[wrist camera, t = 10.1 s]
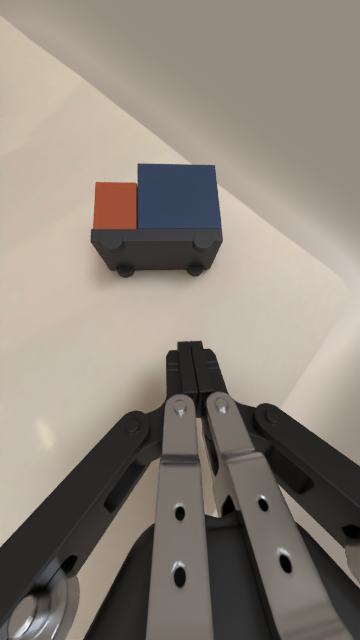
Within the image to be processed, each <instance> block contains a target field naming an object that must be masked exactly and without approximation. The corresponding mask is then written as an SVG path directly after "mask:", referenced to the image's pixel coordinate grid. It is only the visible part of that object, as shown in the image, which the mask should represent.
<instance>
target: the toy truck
mask: <svg viewBox="0 0 360 640" xmlns="http://www.w3.org/2000/svg"><path fill="white" fill-rule="evenodd" d="M222 241H223V238H222V229H221V218H220V209H219V200H218V190H217V182H216V172H215V166H214V165H180V164H138V188H137V184H136V183H112V182H96V186H95V205H94V223H93V229H91V243H92V244H93V246H94V247H95V249H96V250H97V252H98V253H99V255H100V256H101V258H102V259H103V260H104V262H105V263H106V265H107V266H108V268H109V269H110V270H117V272H118V273H119V275H121V276H122V277H129V276H131V275H132V274H133V273H134V270H155V269H187V271H188V272H189V274H191V275H193V276H198V275H200V274H201V273H202V271H203V269H210V267H211V265H212V263H213V261H214V259H215V257H216V254H217V252H218V250H219V248H220V246H221V244H222Z"/></svg>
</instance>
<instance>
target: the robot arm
mask: <svg viewBox="0 0 360 640" xmlns="http://www.w3.org/2000/svg"><path fill="white" fill-rule="evenodd" d="M166 381H167V396H166V400H165V402H164V403H163V404H162V406H161V407H159V408H158V409H156V410H154V411H152V412H149V413H147V414H144V413H143V412H141V411H132V412H129V413H127V414H125V415H124V416H123V417H122V418H121V419H120V420H119V421H118V422H117V423H116V424H115V425H114V426H113V428H112V429H111V430H110V431H109V432H108V433H107V434H106V435H105V436H104V437H103V438H102V439H101V440H100V441H99V443H98V444H97V445H96V446H95V447H94V448H93V449H92V450H91V451H90V452H89V453H88V454H87V455H86V456H85V457H84V459H83V460H82V461H81V462H80V463H79V464H78V465H77V466H76V467H75V468H74V469H73V470H72V471H71V472H70V474H69V475H68V476H67V477H66V478H65V479H64V480H63V481H62V482H61V483H60V484H59V485H58V486H57V487H56V488H55V490H54V491H53V492H52V493H51V494H50V495H49V496H48V497H47V498H46V499H45V500H44V501H43V502H42V503H41V505H40V506H39V507H38V508H37V509H36V510H35V511H34V512H33V513H32V514H31V515H30V516H29V517H28V518H27V520H26V521H25V522H24V523H23V524H22V525H21V526H20V527H19V528H18V529H17V530H16V531H15V532H14V533H13V534H12V536H11V537H10V538H9V539H8V540H7V541H6V542H5V543H4V544H3V545H2V546H1V547H0V640H65V638H66V636H67V634H68V632H69V630H70V628H71V626H72V624H73V621H74V618H75V615H76V612H77V608H78V603H79V594H80V589H79V582H78V578H77V576H76V575H77V573H78V572H79V570H80V569H81V567H82V566H83V564H84V563H85V561H86V560H87V558H88V557H89V555H90V554H91V552H92V551H93V549H94V548H95V546H96V545H97V543H98V542H99V540H100V539H101V537H102V536H103V534H104V533H105V531H106V530H107V528H108V527H109V525H110V524H111V522H112V521H113V519H114V518H115V516H116V515H117V513H118V512H119V510H120V509H121V507H122V506H123V504H124V502H125V501H126V499H127V498H128V496H129V495H130V493H131V492H132V490H133V489H134V487H135V486H136V484H137V483H138V481H139V480H140V478H141V477H142V475H143V474H144V472H145V471H146V469H147V468H148V466H149V465H150V463H151V462H152V461H154V460H156V459H158V458H160V457H161V460H160V467H159V478H158V491H157V504H156V516H155V523H154V524H152V525H151V526H149V527H148V528H147V529H146V530H145V531H144V532H143V533H142V534H141V536H140V537H139V538H138V539H137V541H136V542H135V544H134V545H133V547H132V548H131V550H130V552H129V553H128V555H127V557H126V559H125V561H124V563H123V565H122V567H121V568H120V570H119V572H118V574H117V576H116V578H115V580H114V582H113V584H112V586H111V587H110V589H109V591H108V593H107V595H106V597H105V599H104V601H103V603H102V605H101V607H100V608H99V610H98V612H97V614H96V616H95V618H94V620H93V622H92V624H91V626H90V627H89V629H88V631H87V633H86V635H85V637H84V639H83V640H360V589H359V587H358V586H357V585H356V584H355V583H354V582H353V581H352V580H351V579H350V578H349V577H348V576H347V574H346V573H345V572H344V571H343V570H342V569H341V568H340V567H339V566H338V565H337V564H336V563H335V561H334V560H333V559H332V558H331V557H330V556H329V555H328V554H327V553H326V552H325V551H324V550H323V548H322V547H321V546H320V545H319V544H318V543H317V542H316V541H315V540H314V539H313V538H312V537H311V535H310V534H309V533H308V532H307V531H306V530H305V529H303V528H302V527H301V526H300V525H299V524H298V523H297V522H295V521H294V519H293V516H292V514H291V512H290V510H289V508H288V505H287V503H286V501H285V499H284V497H283V495H282V492H281V490H280V488H279V486H278V484H279V485H280V486H281V487H282V488H283V489H284V490H285V491H286V492H287V493H288V494H289V495H290V496H291V497H292V498H293V499H294V500H295V501H296V502H297V503H298V504H299V505H300V506H301V507H302V508H303V509H304V510H305V511H306V512H307V513H308V514H309V515H311V516H312V517H313V518H314V519H315V520H316V521H317V522H318V523H319V524H320V525H321V526H322V527H323V528H324V529H325V530H326V531H327V532H328V533H329V534H330V535H331V536H332V537H333V538H334V539H335V540H336V541H337V542H338V543H339V544H340V545H341V546H343V548H344V549H345V553H346V557H347V564H348V567H349V569H350V571H351V573H352V574H353V576H354V577H355V578H356V579H357V580H358V582H359V583H360V466H359V465H357V464H356V463H354V462H353V461H351V460H350V459H349V458H347V457H346V456H345V455H343V454H342V453H340V452H339V451H338V450H336V449H335V448H333V447H332V446H330V445H329V444H328V443H326V442H325V441H324V440H322V439H321V438H319V437H318V436H317V435H315V434H314V433H313V432H311V431H309V430H308V429H307V428H306V427H304V426H303V425H301V424H300V423H299V422H297V421H296V420H294V419H293V418H292V417H290V416H289V415H287V414H286V413H285V412H283V411H282V410H280V409H279V408H278V407H276V406H274V405H272V404H268V403H263V404H260V405H258V406H257V408H255V407H251V406H247V405H243V404H240V403H238V402H236V401H235V400H234V399H233V398H232V397H231V396H230V395H229V394H228V392H227V389H226V386H225V383H224V380H223V377H222V374H221V371H220V369H219V364H218V361H217V358H216V355H215V354H214V353H213V351H212V350H211V349H203V345H202V341H190V342H189V341H185V342H177V350H170V351H169V352H168V354H167V356H166ZM196 418H201V421H202V436H203V441H204V445H205V449H206V454H207V458H208V462H209V467H210V471H211V476H212V482H213V493H214V499H215V503H216V508H217V512H218V517H219V518H216V517H213V516H209V515H205V514H204V502H203V489H202V476H201V465H200V459H199V456H198V443H197V429H196Z"/></svg>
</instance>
